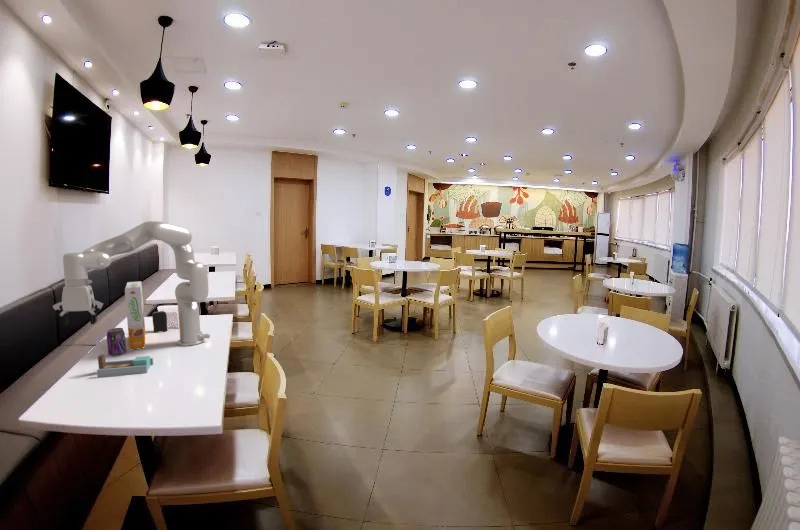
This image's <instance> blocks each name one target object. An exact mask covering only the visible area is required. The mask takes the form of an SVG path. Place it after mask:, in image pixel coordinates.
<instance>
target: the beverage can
mask: <svg viewBox="0 0 800 530" xmlns="http://www.w3.org/2000/svg"><path fill="white" fill-rule="evenodd" d="M106 331H107V332H106V343H107V355H109V356H112V357H116V356H117V355H118V356H121V355H123V354H125V353H127V348H126V347H127V345H126V336H125V335H126V334H125V331H124V329H123V327H114V328H113V327H112V328H110V329H108V330H106ZM118 356H117V357H118Z"/></svg>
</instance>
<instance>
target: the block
mask: <svg viewBox="0 0 800 530" xmlns="http://www.w3.org/2000/svg"><path fill="white" fill-rule="evenodd" d="M150 358H151V357H150V355H143V356H142V355H141V356H136V357H135V358H134V360H133V359H132V360H133V366H142V365H147V371H149V370H150V368H151V367H150V366H152V365H150Z"/></svg>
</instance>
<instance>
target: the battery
mask: <svg viewBox="0 0 800 530" xmlns="http://www.w3.org/2000/svg"><path fill="white" fill-rule="evenodd" d="M164 311H165V310H160V311H157V310H156V311H154V312H152V315H151V316H152V317H151V318H152V326H153V332H154V333H160V332H159V331H163V332H167V331H168V315H167V312H166V311H165V312H164Z"/></svg>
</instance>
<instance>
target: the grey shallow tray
mask: <svg viewBox="0 0 800 530" xmlns="http://www.w3.org/2000/svg"><path fill="white" fill-rule="evenodd" d="M134 359H135V358H134ZM134 359H133V358H132V359H122V360H111V361H109V360H108V361H105V362H106V366H108V365H120V364H132V363H133V360H134ZM150 365H151V366H153V365H154V357H150ZM148 371H149V370H147V365H142V366H131V367H119V368H108V369H99V368H98V369H97V370H96V376H97V378H103V377H105V376H106V377H113V376H115V377H116V376H124V375H125V376H126V375H127V374H128V375H137V374H138V373H139V374H147V373H148ZM106 377H105V378H106Z"/></svg>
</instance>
